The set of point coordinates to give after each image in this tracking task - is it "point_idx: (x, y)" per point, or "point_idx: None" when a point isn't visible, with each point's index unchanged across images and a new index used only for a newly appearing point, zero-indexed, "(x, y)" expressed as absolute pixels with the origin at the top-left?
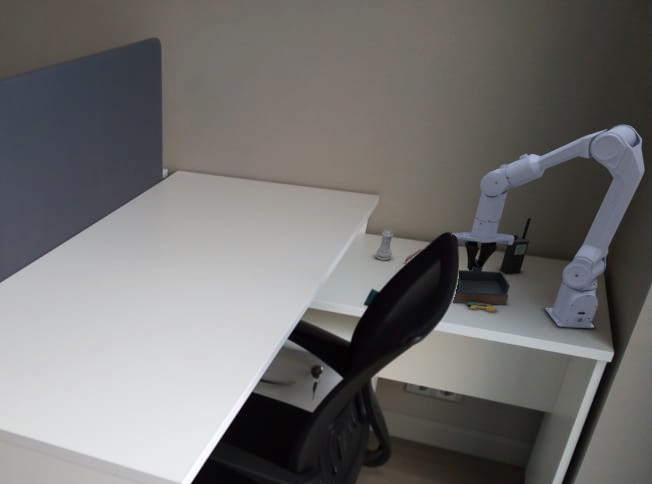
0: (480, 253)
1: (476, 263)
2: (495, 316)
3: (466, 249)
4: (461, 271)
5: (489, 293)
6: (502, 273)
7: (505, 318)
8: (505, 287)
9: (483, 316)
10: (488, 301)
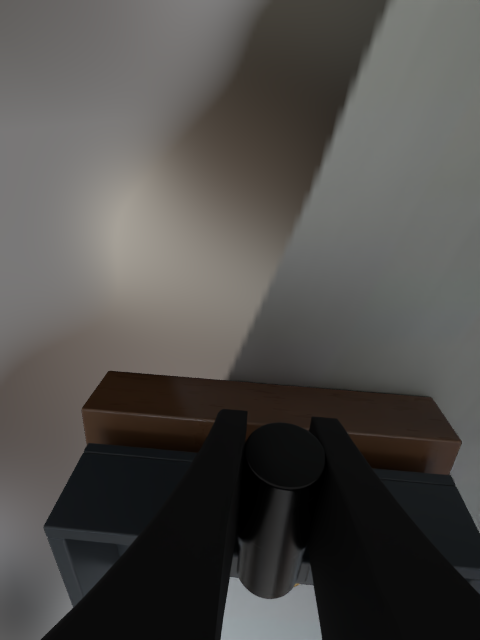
0: (358, 598)
1: (260, 565)
2: (282, 600)
3: (86, 598)
4: (116, 541)
5: (296, 582)
6: (478, 587)
7: (317, 612)
8: None
9: (231, 598)
10: None
